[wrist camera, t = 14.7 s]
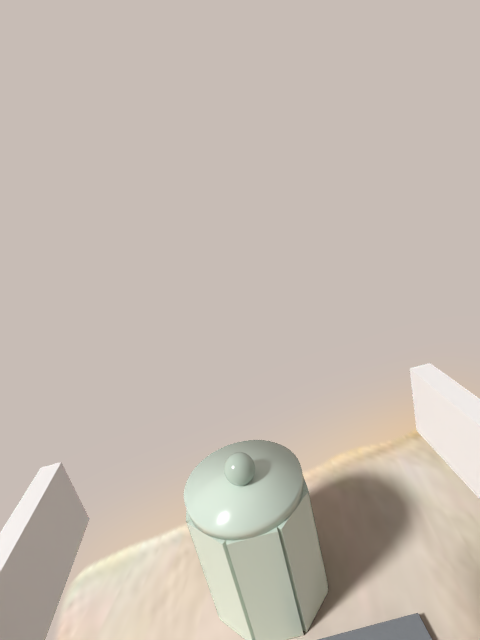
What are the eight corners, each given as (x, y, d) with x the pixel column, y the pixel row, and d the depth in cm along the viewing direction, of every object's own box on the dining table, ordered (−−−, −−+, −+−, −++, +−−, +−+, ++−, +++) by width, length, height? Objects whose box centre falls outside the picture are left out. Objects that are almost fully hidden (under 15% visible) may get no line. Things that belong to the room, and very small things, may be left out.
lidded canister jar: (307, 524, 39) (282, 409, 35) (340, 625, 30) (312, 483, 26) (216, 548, 39) (180, 435, 35) (220, 657, 30) (171, 520, 25)
